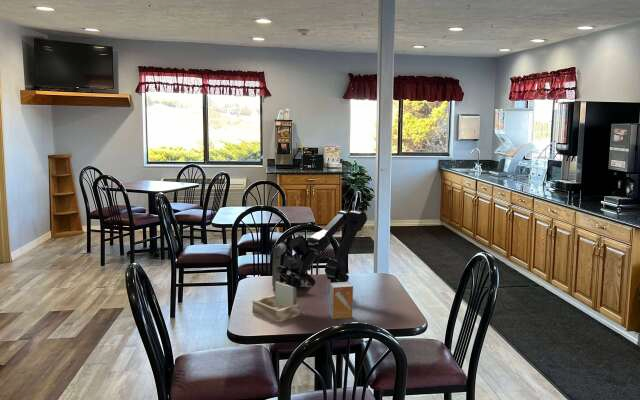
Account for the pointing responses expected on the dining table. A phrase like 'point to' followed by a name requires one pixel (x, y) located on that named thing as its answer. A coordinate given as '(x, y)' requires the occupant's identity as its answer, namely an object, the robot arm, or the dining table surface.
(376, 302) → the dining table surface
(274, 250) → the vintage camera
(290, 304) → the door
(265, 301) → the wooden tray
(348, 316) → the small box
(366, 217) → the robot arm
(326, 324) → the dining table surface
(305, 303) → the dining table surface
